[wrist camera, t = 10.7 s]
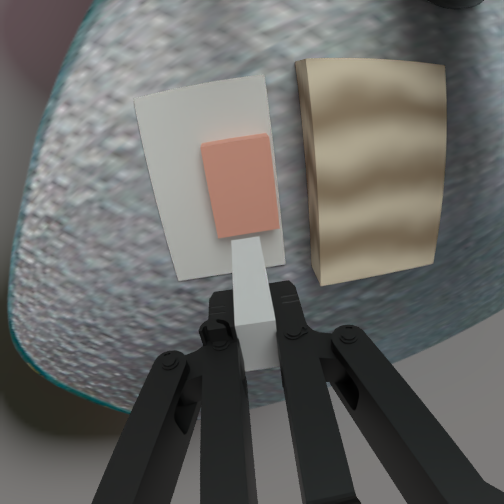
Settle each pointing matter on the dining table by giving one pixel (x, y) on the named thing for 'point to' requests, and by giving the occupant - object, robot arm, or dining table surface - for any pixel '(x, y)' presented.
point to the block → (241, 184)
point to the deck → (372, 163)
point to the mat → (201, 167)
